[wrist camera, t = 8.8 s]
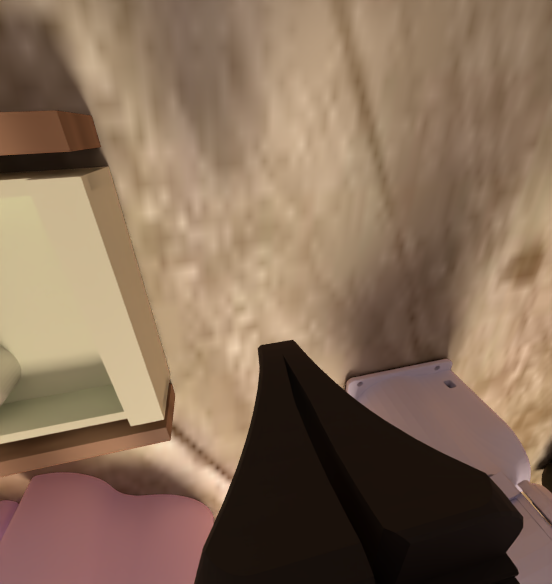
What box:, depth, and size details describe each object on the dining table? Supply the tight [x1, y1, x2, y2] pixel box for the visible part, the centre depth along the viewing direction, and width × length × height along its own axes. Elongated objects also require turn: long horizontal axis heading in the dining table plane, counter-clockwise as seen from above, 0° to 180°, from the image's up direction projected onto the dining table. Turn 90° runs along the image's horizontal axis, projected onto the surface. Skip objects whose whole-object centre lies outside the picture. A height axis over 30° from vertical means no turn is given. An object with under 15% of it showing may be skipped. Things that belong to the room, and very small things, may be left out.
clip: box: [0, 472, 214, 584], centre depth 24 cm, size 20×12×7 cm, turn 34°
